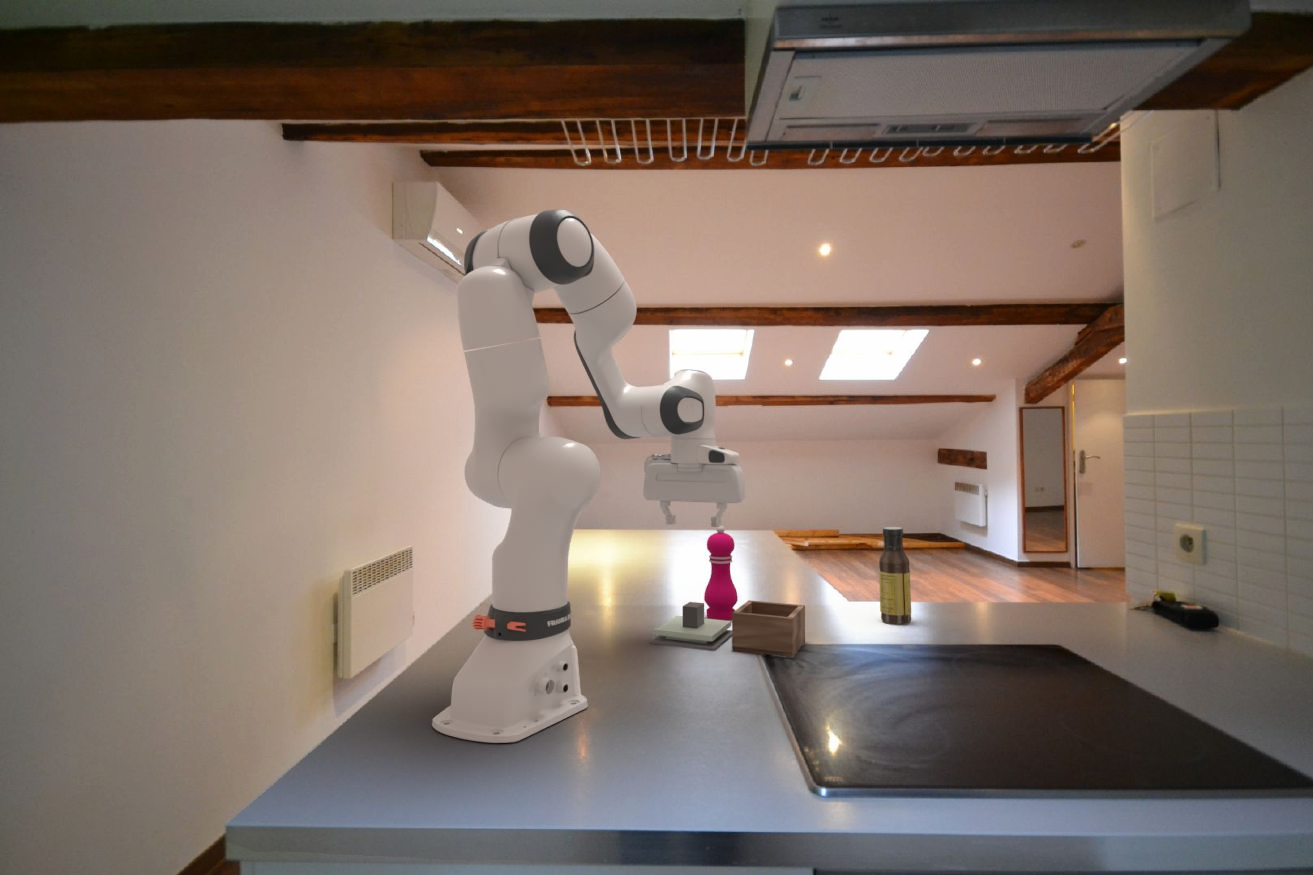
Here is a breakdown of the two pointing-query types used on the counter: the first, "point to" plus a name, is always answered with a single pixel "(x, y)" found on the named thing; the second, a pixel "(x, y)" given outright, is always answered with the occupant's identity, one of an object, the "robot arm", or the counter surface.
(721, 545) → the pepper mill
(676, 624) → the lid
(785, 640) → the box
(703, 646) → the mat
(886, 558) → the sauce bottle
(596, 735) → the counter surface
